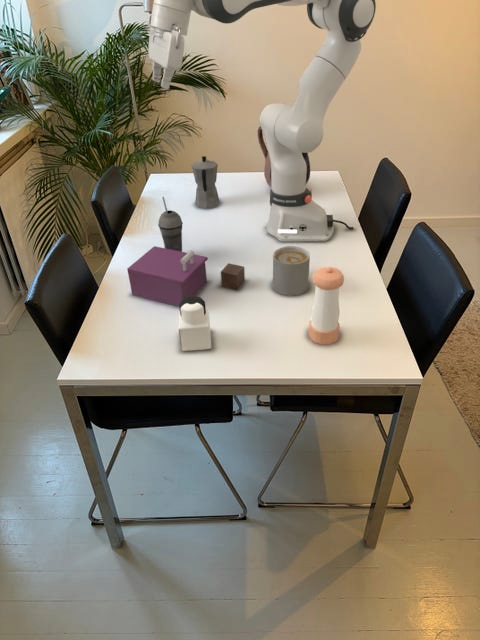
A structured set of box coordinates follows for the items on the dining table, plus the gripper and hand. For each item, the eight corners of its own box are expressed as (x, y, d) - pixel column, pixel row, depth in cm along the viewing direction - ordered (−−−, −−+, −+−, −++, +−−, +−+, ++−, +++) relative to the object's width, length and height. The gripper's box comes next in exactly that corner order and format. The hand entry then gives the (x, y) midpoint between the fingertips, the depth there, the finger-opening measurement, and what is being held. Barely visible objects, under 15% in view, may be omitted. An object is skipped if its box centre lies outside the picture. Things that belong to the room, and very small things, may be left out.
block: (244, 281, 144) (244, 266, 141) (237, 290, 140) (236, 275, 138) (229, 278, 146) (228, 263, 143) (221, 286, 142) (220, 271, 139)
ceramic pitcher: (302, 201, 187) (305, 133, 172) (249, 195, 194) (248, 129, 179) (314, 184, 200) (317, 119, 185) (264, 179, 207) (263, 116, 192)
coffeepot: (196, 197, 194) (191, 150, 183) (220, 196, 194) (217, 149, 183) (193, 214, 182) (189, 165, 171) (219, 213, 182) (216, 164, 171)
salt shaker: (344, 337, 122) (352, 269, 111) (321, 348, 119) (327, 280, 108) (325, 322, 127) (330, 256, 116) (302, 332, 124) (306, 266, 113)
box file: (207, 282, 144) (205, 258, 140) (183, 307, 135) (180, 283, 130) (158, 271, 150) (154, 248, 146) (132, 295, 140) (127, 271, 136)
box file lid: (207, 259, 139) (206, 244, 137) (183, 283, 130) (181, 268, 127) (154, 248, 145) (152, 234, 143) (127, 271, 136) (124, 256, 133)
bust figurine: (182, 333, 126) (176, 293, 118) (210, 331, 126) (206, 291, 119) (181, 351, 120) (176, 311, 113) (211, 349, 120) (207, 308, 113)
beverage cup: (182, 264, 153) (175, 203, 141) (160, 262, 154) (150, 201, 142) (189, 252, 159) (182, 192, 147) (167, 251, 160) (159, 191, 148)
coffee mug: (307, 296, 137) (308, 265, 131) (270, 294, 138) (270, 263, 132) (309, 271, 147) (311, 241, 141) (276, 269, 149) (276, 239, 143)
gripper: (194, 30, 113) (183, 95, 119) (172, 23, 128) (163, 81, 135) (167, 22, 110) (157, 89, 117) (147, 16, 126) (139, 75, 132)
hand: (160, 85), depth 126 cm, fingers open, 8 cm apart
